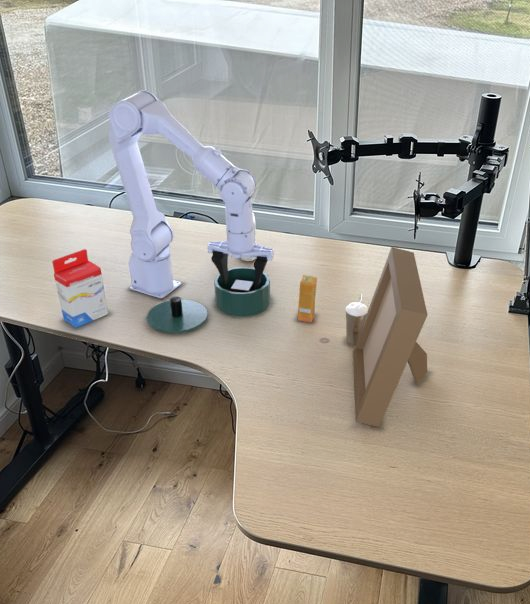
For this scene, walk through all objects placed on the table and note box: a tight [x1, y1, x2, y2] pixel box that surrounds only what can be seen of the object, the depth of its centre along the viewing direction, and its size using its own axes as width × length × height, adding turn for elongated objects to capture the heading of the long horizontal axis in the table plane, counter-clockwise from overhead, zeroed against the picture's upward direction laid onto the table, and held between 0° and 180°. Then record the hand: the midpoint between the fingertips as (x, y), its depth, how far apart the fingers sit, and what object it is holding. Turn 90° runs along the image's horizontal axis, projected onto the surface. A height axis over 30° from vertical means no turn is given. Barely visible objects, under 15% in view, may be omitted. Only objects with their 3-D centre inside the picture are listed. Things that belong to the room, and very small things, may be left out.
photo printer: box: [240, 212, 257, 262], centre depth 169 cm, size 10×4×12 cm, turn 10°
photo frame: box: [352, 246, 428, 428], centre depth 120 cm, size 15×22×25 cm
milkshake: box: [345, 293, 369, 346], centre depth 137 cm, size 4×5×10 cm
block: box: [231, 280, 254, 293], centre depth 151 cm, size 4×4×4 cm
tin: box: [213, 266, 271, 318], centre depth 150 cm, size 12×12×6 cm
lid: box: [146, 296, 209, 334], centre depth 144 cm, size 13×13×5 cm
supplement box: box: [297, 274, 318, 323], centre depth 144 cm, size 3×3×10 cm
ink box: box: [52, 248, 109, 329], centre depth 141 cm, size 8×5×15 cm, turn 137°
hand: (241, 283), depth 149 cm, fingers open, 7 cm apart
